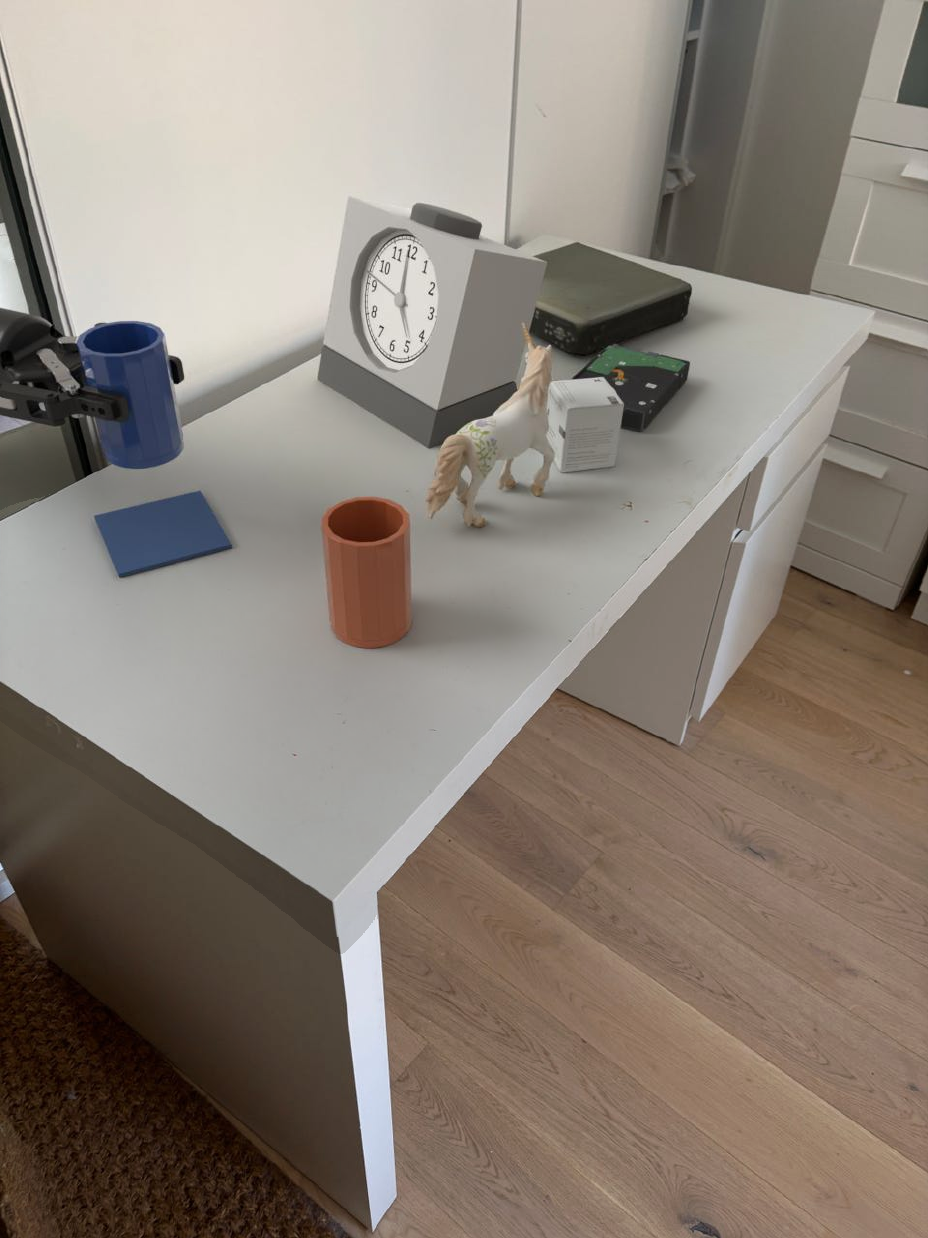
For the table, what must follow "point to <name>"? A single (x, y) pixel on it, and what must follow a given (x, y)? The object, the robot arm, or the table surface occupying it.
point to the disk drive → (638, 381)
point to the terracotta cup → (368, 570)
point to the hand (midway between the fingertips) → (153, 389)
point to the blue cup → (134, 392)
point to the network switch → (602, 299)
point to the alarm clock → (426, 317)
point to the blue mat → (161, 533)
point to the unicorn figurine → (498, 441)
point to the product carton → (583, 423)
